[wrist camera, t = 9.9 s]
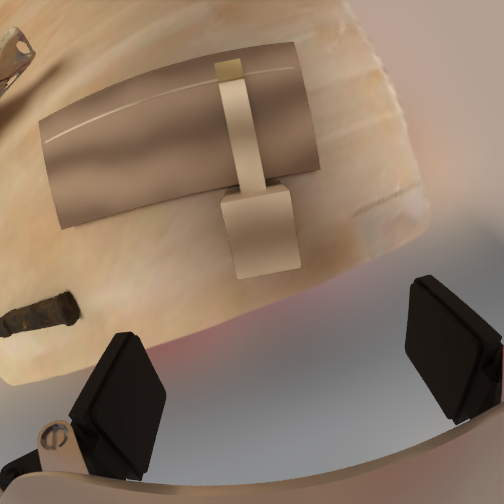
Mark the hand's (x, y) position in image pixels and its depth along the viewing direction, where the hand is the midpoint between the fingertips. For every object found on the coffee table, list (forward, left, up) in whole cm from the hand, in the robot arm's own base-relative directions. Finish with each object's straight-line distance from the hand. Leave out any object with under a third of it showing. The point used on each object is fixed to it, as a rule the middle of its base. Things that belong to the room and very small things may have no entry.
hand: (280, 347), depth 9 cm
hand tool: (+7, -33, -21) cm, 40 cm away
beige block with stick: (-5, 0, -20) cm, 21 cm away
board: (-9, -7, -20) cm, 23 cm away
